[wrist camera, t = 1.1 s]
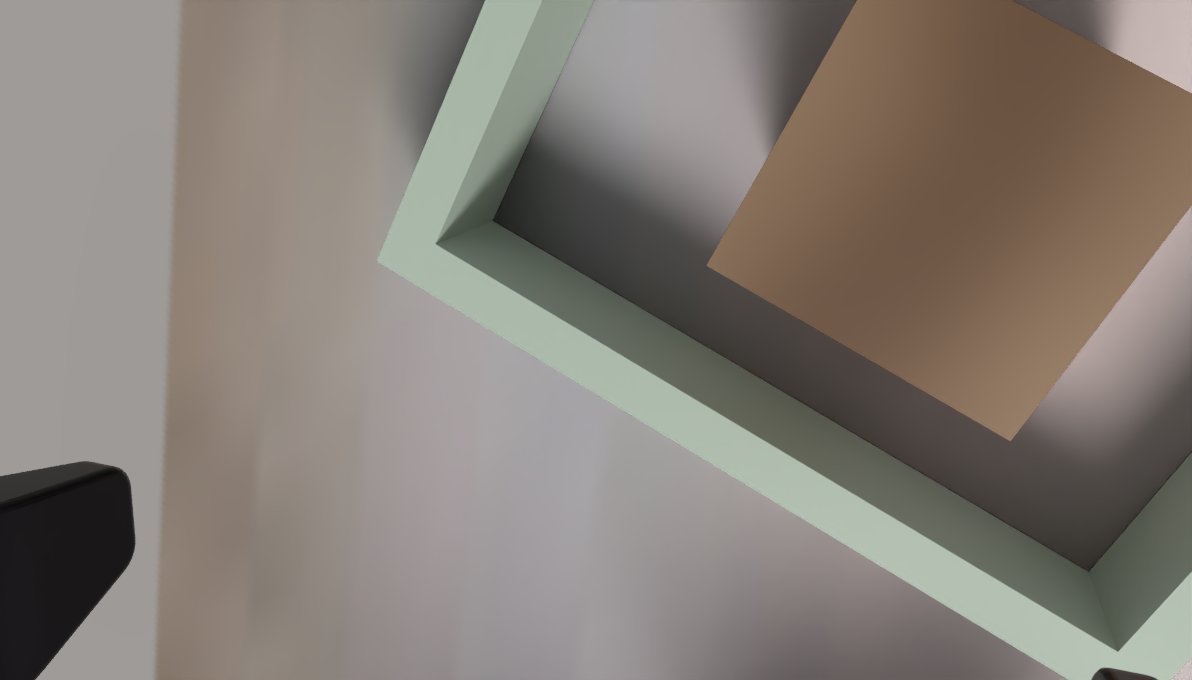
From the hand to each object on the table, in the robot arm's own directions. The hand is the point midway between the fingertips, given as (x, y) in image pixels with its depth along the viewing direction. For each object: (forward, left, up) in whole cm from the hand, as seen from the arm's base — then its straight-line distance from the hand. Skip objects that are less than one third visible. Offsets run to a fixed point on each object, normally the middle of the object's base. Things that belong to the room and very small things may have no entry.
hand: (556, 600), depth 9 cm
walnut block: (-2, -4, -13) cm, 14 cm away
